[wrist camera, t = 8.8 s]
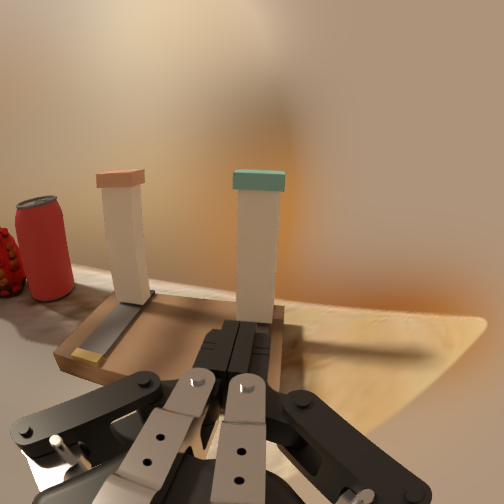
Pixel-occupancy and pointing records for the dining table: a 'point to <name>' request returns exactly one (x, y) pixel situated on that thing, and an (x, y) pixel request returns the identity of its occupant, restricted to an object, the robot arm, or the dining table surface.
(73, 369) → the wooden slider base
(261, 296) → the teal slider
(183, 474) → the robot arm
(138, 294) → the white tall bar
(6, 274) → the red clay folk toy
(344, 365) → the dining table surface
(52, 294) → the beer can
